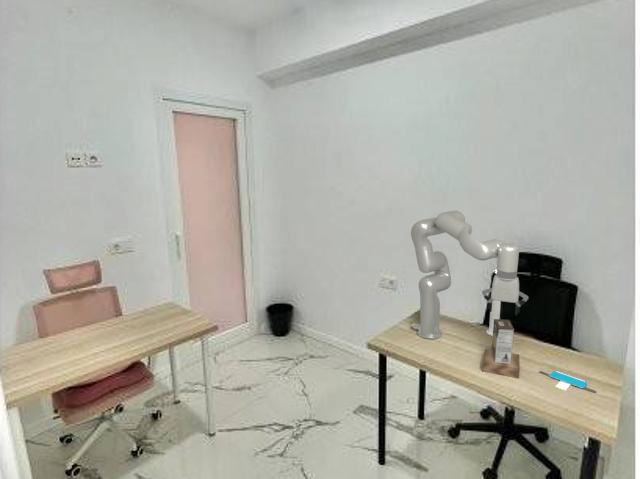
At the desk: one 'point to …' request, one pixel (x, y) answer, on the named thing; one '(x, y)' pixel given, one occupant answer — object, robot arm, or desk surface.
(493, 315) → the candle
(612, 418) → the desk surface
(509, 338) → the coffee box
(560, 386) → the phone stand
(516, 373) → the walnut block
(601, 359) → the desk surface
